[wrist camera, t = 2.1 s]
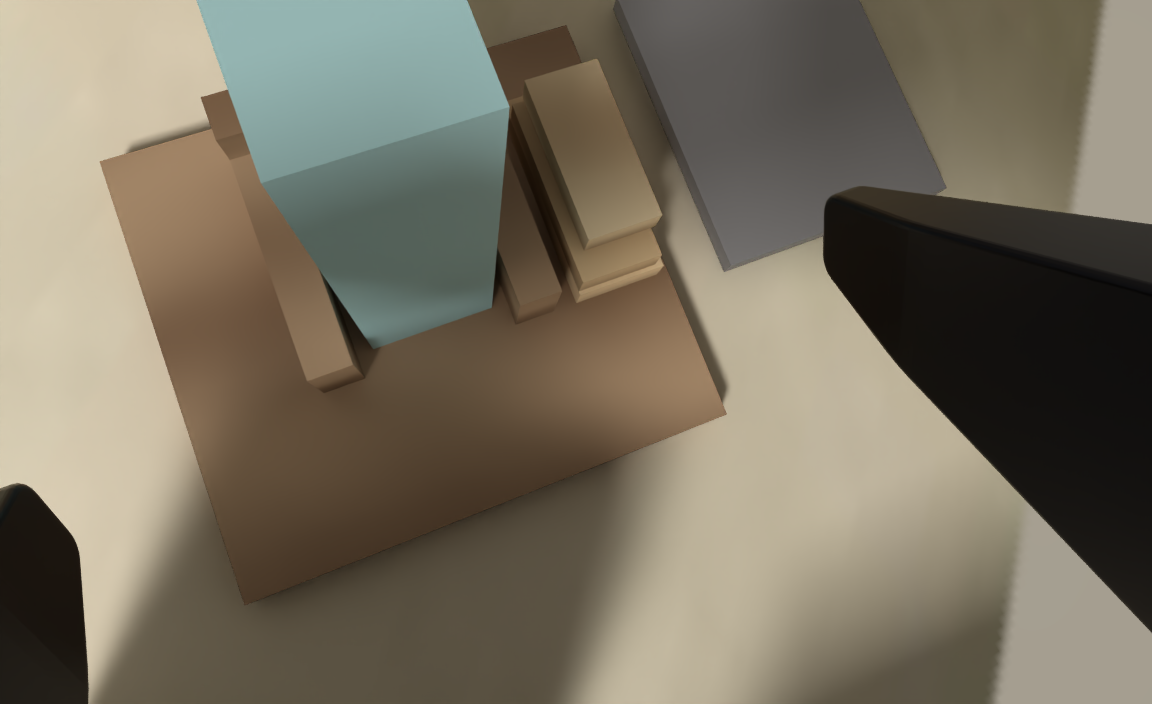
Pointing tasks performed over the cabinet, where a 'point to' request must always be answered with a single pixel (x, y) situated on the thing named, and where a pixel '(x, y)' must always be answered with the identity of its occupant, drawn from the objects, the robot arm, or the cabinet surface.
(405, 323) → the teal rectangular block
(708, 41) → the mat
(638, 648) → the cabinet surface
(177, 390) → the rack
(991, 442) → the robot arm
